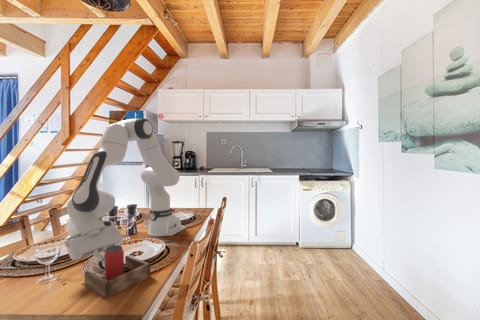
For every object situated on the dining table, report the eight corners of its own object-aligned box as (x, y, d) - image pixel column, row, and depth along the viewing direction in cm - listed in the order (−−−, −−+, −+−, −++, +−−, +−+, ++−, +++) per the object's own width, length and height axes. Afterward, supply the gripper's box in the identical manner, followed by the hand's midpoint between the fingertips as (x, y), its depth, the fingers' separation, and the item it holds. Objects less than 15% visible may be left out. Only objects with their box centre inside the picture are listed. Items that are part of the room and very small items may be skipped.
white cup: (73, 234, 148) (73, 216, 148) (86, 234, 148) (86, 217, 147) (63, 238, 140) (63, 220, 140) (77, 239, 140) (77, 221, 139)
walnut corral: (127, 267, 107) (127, 255, 107) (150, 276, 100) (150, 263, 100) (84, 285, 93) (84, 272, 92) (107, 298, 85) (107, 283, 85)
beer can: (117, 284, 94) (117, 252, 93) (101, 283, 94) (100, 251, 94) (127, 275, 100) (127, 245, 100) (111, 274, 101) (111, 244, 101)
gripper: (65, 233, 96) (79, 265, 91) (116, 220, 113) (130, 246, 109) (59, 243, 98) (73, 274, 94) (110, 228, 116) (124, 254, 111)
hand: (104, 259), depth 101 cm, fingers closed
